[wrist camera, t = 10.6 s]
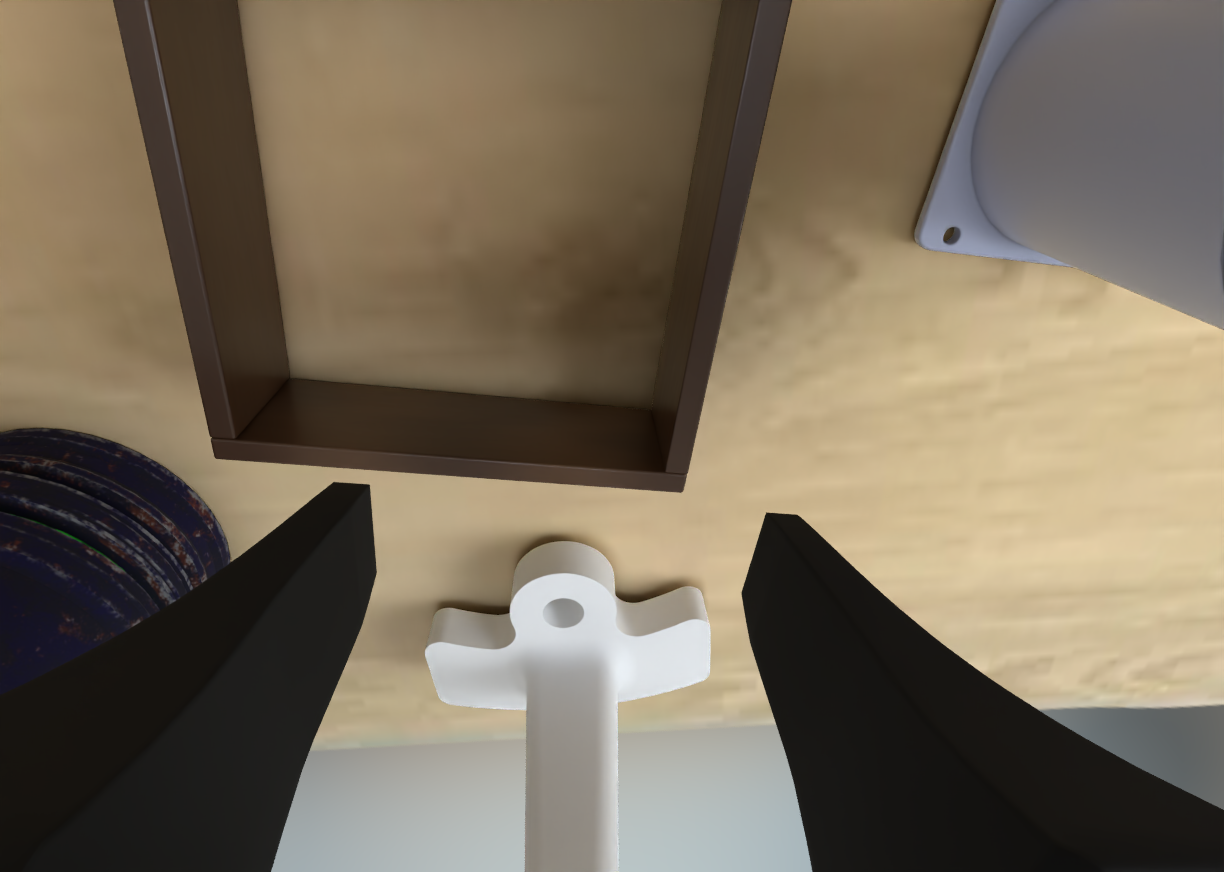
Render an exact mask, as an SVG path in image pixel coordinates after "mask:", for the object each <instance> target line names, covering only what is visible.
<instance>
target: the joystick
mask: <svg viewBox="0 0 1224 872" xmlns="http://www.w3.org/2000/svg"><path fill="white" fill-rule="evenodd" d="M425 657H426V660H427V663H428V666H429V669H430V672H431V675H432V678H433V681H434V684H435V687H436V690H437V694H438V696H439V698H440V699H441V700H442V701H443V702H445V703H447V704H451V705H458V706H466V707H476V708H488V709H505V710H526V805H525V872H619V842H618V703H619V702H624V701H630V700H635V699H640V698H644V697H649V696H653V695H657V694H661V693H665V692H669V691H672V690H676V689H679V688H683V687H686V686H689V685H692V684H695V683H699V682H701V681H703V680H705V679H706V678H707V677H708V676H709V674H710V625H709V621H708V617H707V612H706V608H705V604H704V600H703V596H702V593H701V591H700V590H699V589H697V588H695V587H691V586H685V587H681V588H678V589H676V590H674V591H671V592H669V593H666V594H663V595H661V596H658V597H655V598H652V599H649V600H646V601H643V602H638V603H628V602H624V601H622V600H620V599H619V598H617V596H616V595H615V583H614V573H613V569H612V566H611V564H610V563H609V561H608V560H607V558H606V557H605V556H604V555H603V554H601V553H600V552H599V551H597V550H596V549H594V548H592V547H590V546H588V545H585V544H582V543H578V542H571V541H558V542H551V543H547V544H544V545H541V546H538V547H536V548H534V549H533V550H531V551H530V552H528V553H527V554H526V555H525V556H524V557H523V558H522V559H521V560H520V561H519V563H518V564H517V566H516V569H515V572H514V578H513V587H512V595H511V604H510V613H508V614H504V615H491V614H483V613H476V612H470V611H464V610H459V609H455V608H443V609H440V610H439V611H437V612H436V613H435V615H434V617H433V621H432V625H431V629H430V633H429V637H428V641H427V645H426V649H425Z"/></svg>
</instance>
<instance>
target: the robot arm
mask: <svg viewBox="0 0 1224 872" xmlns="http://www.w3.org/2000/svg"><path fill="white" fill-rule="evenodd" d="M950 227H953V228H954V234H953V235H952V237H951V238H950V239H949V240H947V241H943V235H944V233H945V232H946V230H948V229H949V228H950ZM914 237H915V242H916V243H917V244H918V245H919V246H921V247H922V248H925V249H927V250H932V251H940V252H948V253H957V254H965V255H974V256H982V257H990V258H999V259H1007V260H1016V261H1024V262H1032V263H1041V264H1049V265H1058V266H1066V267H1074V268H1077V269H1080V270H1082V271H1084V272H1087V273H1089V274H1091V275H1094V276H1096V277H1099V278H1101V279H1103V280H1106V281H1108V282H1110V283H1113V284H1115V285H1118V286H1120V287H1122V288H1125V289H1127V290H1130V291H1132V292H1134V293H1137V294H1139V295H1141V296H1144V297H1146V298H1149V299H1151V300H1153V301H1156V302H1158V303H1161V304H1163V305H1165V306H1168V307H1170V308H1172V309H1175V310H1177V311H1180V312H1182V313H1184V314H1187V315H1189V316H1192V317H1194V318H1196V319H1199V320H1201V321H1203V322H1206V323H1208V324H1211V325H1213V326H1215V327H1218V328H1220V329H1223V330H1224V0H996V2H995V5H994V8H993V11H992V14H991V17H990V19H989V22H988V25H987V28H986V31H985V34H984V36H983V39H982V42H981V45H980V48H979V50H978V53H977V56H976V59H975V62H974V65H973V67H972V70H971V73H970V76H969V79H968V82H967V84H966V87H965V90H964V93H963V96H962V98H961V101H960V104H959V107H958V110H957V113H956V115H955V118H954V121H953V124H952V127H951V130H950V132H949V135H948V138H947V141H946V144H945V146H944V149H943V152H942V155H941V158H940V161H939V163H938V166H937V169H936V172H935V175H934V177H933V180H932V183H931V186H930V189H929V192H928V194H927V197H926V200H925V203H924V206H923V209H922V211H921V214H920V217H919V220H918V223H917V225H916V228H915V233H914ZM376 573H377V571H376V558H375V546H374V533H373V521H372V508H371V496H370V485H367V484H353V483H339V482H333V483H332V484H331V485H329V486H328V487H327V488H326V489H324V490H323V491H322V492H320V493H319V494H318V495H317V496H315V497H314V498H313V499H312V500H310V501H309V502H308V503H307V504H305V505H304V506H303V507H302V508H301V509H299V510H298V511H297V512H296V513H294V514H293V515H292V516H291V517H289V518H288V519H287V520H286V521H284V522H283V523H282V524H281V525H280V526H278V527H277V528H276V529H275V530H273V531H272V532H271V533H269V534H268V535H267V536H265V537H264V538H263V539H262V540H260V541H259V542H258V543H256V544H255V545H254V546H253V547H251V548H250V549H249V550H247V551H246V552H245V553H243V554H242V555H241V556H239V557H238V558H237V559H235V560H234V561H232V562H231V563H230V564H228V565H227V566H225V567H224V568H222V569H221V570H220V571H218V572H217V573H215V574H214V575H213V576H211V577H210V578H208V579H207V580H205V581H204V582H203V583H201V584H200V585H198V586H197V587H196V588H194V589H193V590H191V591H190V592H188V593H187V594H185V595H184V596H182V597H180V598H179V599H177V600H176V601H174V602H173V603H171V604H169V605H168V606H166V607H165V608H163V609H161V610H160V611H158V612H156V613H155V614H153V615H151V616H150V617H148V618H146V619H145V620H143V621H141V622H140V623H138V624H136V625H135V626H133V627H131V628H130V629H128V630H126V631H124V632H123V633H121V634H119V635H117V636H116V637H114V638H112V639H110V640H108V641H106V642H104V643H102V644H101V645H99V646H97V647H95V648H93V649H91V650H89V651H87V652H85V653H83V654H81V655H80V656H78V657H76V658H74V659H72V660H70V661H68V662H66V663H64V664H62V665H60V666H58V667H57V668H55V669H53V670H51V671H49V672H47V673H45V674H43V675H41V676H39V677H37V678H35V679H33V680H31V681H29V682H27V683H25V684H23V685H21V686H18V687H16V688H14V689H12V690H10V691H8V692H6V693H3V694H1V695H0V872H271V869H272V867H273V863H274V860H275V856H276V853H277V849H278V846H279V843H280V839H281V836H282V833H283V829H284V826H285V823H286V820H287V817H288V813H289V810H290V807H291V804H292V801H293V798H294V794H295V791H296V788H297V784H298V782H299V778H300V775H301V772H302V769H303V766H304V764H305V761H306V758H307V756H308V753H309V751H310V748H311V745H312V743H313V740H314V738H315V735H316V733H317V731H318V728H319V726H320V724H321V721H322V719H323V717H324V714H325V712H326V710H327V707H328V705H329V703H330V700H331V698H332V695H333V693H334V691H335V688H336V686H337V684H338V681H339V679H340V677H341V674H342V672H343V670H344V667H345V665H346V663H347V660H348V658H349V655H350V653H351V651H352V648H353V646H354V643H355V641H356V639H357V636H358V634H359V631H360V629H361V626H362V624H363V620H364V617H365V613H366V610H367V607H368V603H369V600H370V596H371V592H372V588H373V585H374V581H375V577H376ZM742 600H743V606H744V612H745V618H746V623H747V628H748V634H749V639H750V643H751V647H752V650H753V653H754V657H755V660H756V663H757V666H758V669H759V672H760V676H761V679H762V682H763V685H764V688H765V691H766V694H767V697H768V700H769V703H770V706H771V710H772V713H773V716H774V719H775V722H776V725H777V728H778V731H779V734H780V737H781V740H782V743H783V746H784V749H785V753H786V756H787V759H788V763H789V766H790V770H791V774H792V777H793V781H794V784H795V789H796V794H797V799H798V803H799V808H800V812H801V817H802V821H803V826H804V831H805V836H806V840H807V846H808V851H809V855H810V861H811V866H812V871H813V872H1224V810H1223V809H1221V808H1219V807H1217V806H1214V805H1212V804H1210V803H1208V802H1206V801H1204V800H1202V799H1200V798H1198V797H1196V796H1194V795H1192V794H1190V793H1188V792H1186V791H1184V790H1182V789H1180V788H1178V787H1176V786H1174V785H1172V784H1170V783H1168V782H1166V781H1164V780H1162V779H1160V778H1158V777H1156V776H1154V775H1152V774H1150V773H1148V772H1146V771H1144V770H1142V769H1140V768H1138V767H1136V766H1134V765H1132V764H1130V763H1129V762H1127V761H1125V760H1123V759H1121V758H1120V757H1118V756H1116V755H1114V754H1113V753H1111V752H1109V751H1107V750H1105V749H1103V748H1102V747H1100V746H1098V745H1096V744H1094V743H1093V742H1091V741H1089V740H1087V739H1085V738H1084V737H1082V736H1080V735H1078V734H1077V733H1075V732H1074V731H1072V730H1070V729H1068V728H1067V727H1065V726H1063V725H1062V724H1060V723H1058V722H1057V721H1055V720H1053V719H1052V718H1050V717H1048V716H1047V715H1045V714H1044V713H1042V712H1040V711H1039V710H1037V709H1036V708H1034V707H1033V706H1031V705H1030V704H1028V703H1026V702H1025V701H1023V700H1022V699H1020V698H1019V697H1017V696H1015V695H1014V694H1012V693H1011V692H1009V691H1008V690H1006V689H1005V688H1003V687H1002V686H1000V685H999V684H997V683H996V682H994V681H993V680H991V679H990V678H988V677H987V676H986V675H984V674H983V673H981V672H980V671H979V670H977V669H976V668H974V667H973V666H972V665H970V664H969V663H968V662H966V661H965V660H964V659H962V658H961V657H959V656H958V655H957V654H955V653H954V652H953V651H951V650H950V649H948V648H947V647H946V646H945V645H943V644H942V643H941V642H939V641H938V640H937V639H936V638H934V637H933V636H932V635H930V634H929V633H928V632H927V631H926V630H924V629H923V628H922V627H921V626H920V625H918V624H917V623H916V622H915V621H914V620H912V619H911V618H910V617H909V616H908V615H906V614H905V613H904V612H903V611H902V610H900V609H899V608H898V607H897V606H896V605H895V604H894V603H892V602H891V601H890V600H889V599H888V598H887V597H886V596H884V595H883V594H882V593H881V592H880V591H879V590H878V589H877V588H876V587H874V586H873V585H872V584H871V583H870V582H869V581H868V580H867V579H866V578H865V577H864V576H863V575H861V574H860V573H859V572H858V571H857V570H856V569H855V568H854V567H853V566H852V565H851V564H850V563H849V562H848V561H847V560H846V559H845V558H843V557H842V556H841V555H840V554H839V553H838V552H837V551H836V550H835V549H834V548H833V547H832V546H831V545H830V544H829V543H828V542H827V541H826V540H825V539H824V538H823V537H821V536H820V535H819V534H818V533H817V532H816V531H815V530H814V529H813V528H812V527H811V526H810V525H809V524H808V523H806V522H805V521H804V520H803V519H802V518H801V517H799V516H798V515H792V514H778V513H766V515H765V518H764V522H763V525H762V528H761V531H760V535H759V538H758V541H757V544H756V548H755V551H754V554H753V557H752V561H751V564H750V567H749V570H748V574H747V577H746V580H745V583H744V587H743V590H742Z"/></svg>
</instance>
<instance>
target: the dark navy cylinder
mask: <svg viewBox="0 0 1224 872" xmlns="http://www.w3.org/2000/svg"><path fill="white" fill-rule="evenodd" d="M228 564H230V554H229V549H228V544H227V541H226V538H225V536H224V533H223V531H222V529H221V526H220V525H219V523H218V521H217V520H216V518H215V517H214V515H213V513H212V512H211V510H210V509H209V508H208V507H207V506H206V504H205V503H204V502H203V501H202V500H201V498H200V497H199V496H198V495H197V494H196V493H195V492H194V491H193V490H192V489H191V488H189V487H188V486H187V485H186V484H185V483H184V482H183V481H182V480H181V479H179V478H178V477H176V476H175V475H174V474H172V473H171V472H170V471H168V470H167V469H165V468H164V467H163V466H161V465H159V464H158V463H156V462H154V461H152V460H151V459H149V458H147V457H145V456H143V455H142V454H140V453H138V452H135V451H133V450H131V449H129V448H126V447H124V446H122V445H119V444H117V443H114V442H111V441H108V440H105V439H102V438H98V437H95V436H92V435H87V434H82V433H78V432H73V431H68V430H57V429H46V428H37V429H18V430H13V431H7V432H2V433H0V695H1V694H3V693H6V692H8V691H10V690H12V689H14V688H16V687H18V686H21V685H23V684H25V683H27V682H29V681H31V680H33V679H35V678H37V677H39V676H41V675H43V674H45V673H47V672H49V671H51V670H53V669H55V668H57V667H58V666H60V665H62V664H64V663H66V662H68V661H70V660H72V659H74V658H76V657H78V656H80V655H81V654H83V653H85V652H87V651H89V650H91V649H93V648H95V647H97V646H99V645H101V644H102V643H104V642H106V641H108V640H110V639H112V638H114V637H116V636H117V635H119V634H121V633H123V632H124V631H126V630H128V629H130V628H131V627H133V626H135V625H136V624H138V623H140V622H141V621H143V620H145V619H146V618H148V617H150V616H151V615H153V614H155V613H156V612H158V611H160V610H161V609H163V608H165V607H166V606H168V605H169V604H171V603H173V602H174V601H176V600H177V599H179V598H180V597H182V596H184V595H185V594H187V593H188V592H190V591H191V590H193V589H194V588H196V587H197V586H198V585H200V584H201V583H203V582H204V581H205V580H207V579H208V578H210V577H211V576H213V575H214V574H215V573H217V572H218V571H220V570H221V569H222V568H224V567H225V566H227V565H228Z"/></svg>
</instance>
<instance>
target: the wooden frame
mask: <svg viewBox="0 0 1224 872" xmlns="http://www.w3.org/2000/svg"><path fill="white" fill-rule="evenodd" d="M113 3H114V7H115V12H116V16H117V21H118V25H119V30H120V34H121V39H122V43H123V48H124V52H125V57H126V61H127V66H128V70H129V75H130V79H131V84H132V88H133V93H134V97H135V102H136V106H137V111H138V115H139V120H140V124H141V129H142V133H143V138H144V142H145V147H146V151H147V156H148V160H149V164H150V169H151V173H152V178H153V182H154V187H155V191H156V196H157V200H158V205H159V209H160V214H161V218H162V223H163V227H164V232H165V236H166V241H167V245H168V250H169V254H170V259H171V263H172V268H173V272H174V277H175V281H176V286H177V290H178V295H179V299H180V304H181V308H182V313H183V317H184V322H185V326H186V331H187V335H188V340H189V344H190V349H191V353H192V358H193V362H194V367H195V371H196V376H197V380H198V385H199V389H200V394H201V398H202V403H203V407H204V412H205V416H206V421H207V425H208V430H209V434H210V436H211V437H212V438H211V443H212V447H213V452H214V456H215V458H216V459H226V460H240V461H254V462H267V463H281V464H295V465H309V466H322V467H336V468H350V469H364V470H377V471H391V472H405V473H419V474H432V475H446V476H460V477H473V478H487V479H501V480H515V481H528V482H542V483H556V484H570V485H583V486H597V487H611V488H625V489H638V490H652V491H666V492H680V493H681V492H683V490H684V486H685V482H686V477H687V473H688V470H689V465H690V461H691V456H692V452H693V447H694V443H695V438H696V433H697V429H698V424H699V420H700V415H701V411H702V406H703V402H704V397H705V393H706V388H707V384H708V379H709V375H710V370H711V366H712V361H713V357H714V352H715V347H716V343H717V338H718V334H719V329H720V325H721V320H722V316H723V311H724V307H725V302H726V298H727V293H728V289H729V284H730V280H731V275H732V271H733V266H734V261H735V257H736V252H737V248H738V243H739V239H740V234H741V230H742V225H743V221H744V216H745V212H746V207H747V203H748V198H749V194H750V189H751V185H752V180H753V175H754V171H755V166H756V162H757V157H758V153H759V148H760V144H761V139H762V135H763V130H764V126H765V121H766V117H767V112H768V108H769V103H770V99H771V94H772V89H773V85H774V80H775V76H776V71H777V67H778V62H779V58H780V53H781V49H782V44H783V40H784V35H785V31H786V26H787V22H788V17H789V13H790V8H791V3H792V0H723V1H722V7H721V13H720V19H719V24H718V30H717V36H716V41H715V47H714V53H713V58H712V64H711V70H710V75H709V81H708V87H707V93H706V98H705V104H704V110H703V115H702V121H701V127H700V132H699V138H698V144H697V150H696V155H695V161H694V167H693V172H692V178H691V184H690V189H689V195H688V201H687V206H686V212H685V218H684V224H683V229H682V235H681V241H680V246H679V252H678V258H677V263H676V269H675V275H674V281H673V286H672V292H671V298H670V303H669V309H668V315H667V320H666V326H665V332H664V338H663V343H662V349H661V355H660V360H659V366H658V372H657V377H656V383H655V389H654V394H653V400H652V406H651V410H646V409H634V408H622V407H611V406H599V405H588V404H576V403H565V402H553V401H541V400H530V399H518V398H507V397H495V396H484V395H472V394H460V393H449V392H437V391H426V390H414V389H403V388H391V387H379V386H368V385H356V384H345V383H333V382H322V381H310V380H298V379H289V378H290V374H289V367H288V360H287V353H286V346H285V339H284V332H283V325H282V318H281V311H280V304H279V297H278V289H277V282H276V275H275V268H274V261H273V254H272V247H271V240H270V233H269V226H268V219H267V212H266V205H265V198H264V191H263V184H262V177H261V170H260V163H259V156H258V149H257V142H256V135H255V127H254V120H253V113H252V106H251V99H250V92H249V85H248V78H247V71H246V64H245V57H244V50H243V43H242V36H241V29H240V22H239V15H238V8H237V1H236V0H113Z"/></svg>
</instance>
